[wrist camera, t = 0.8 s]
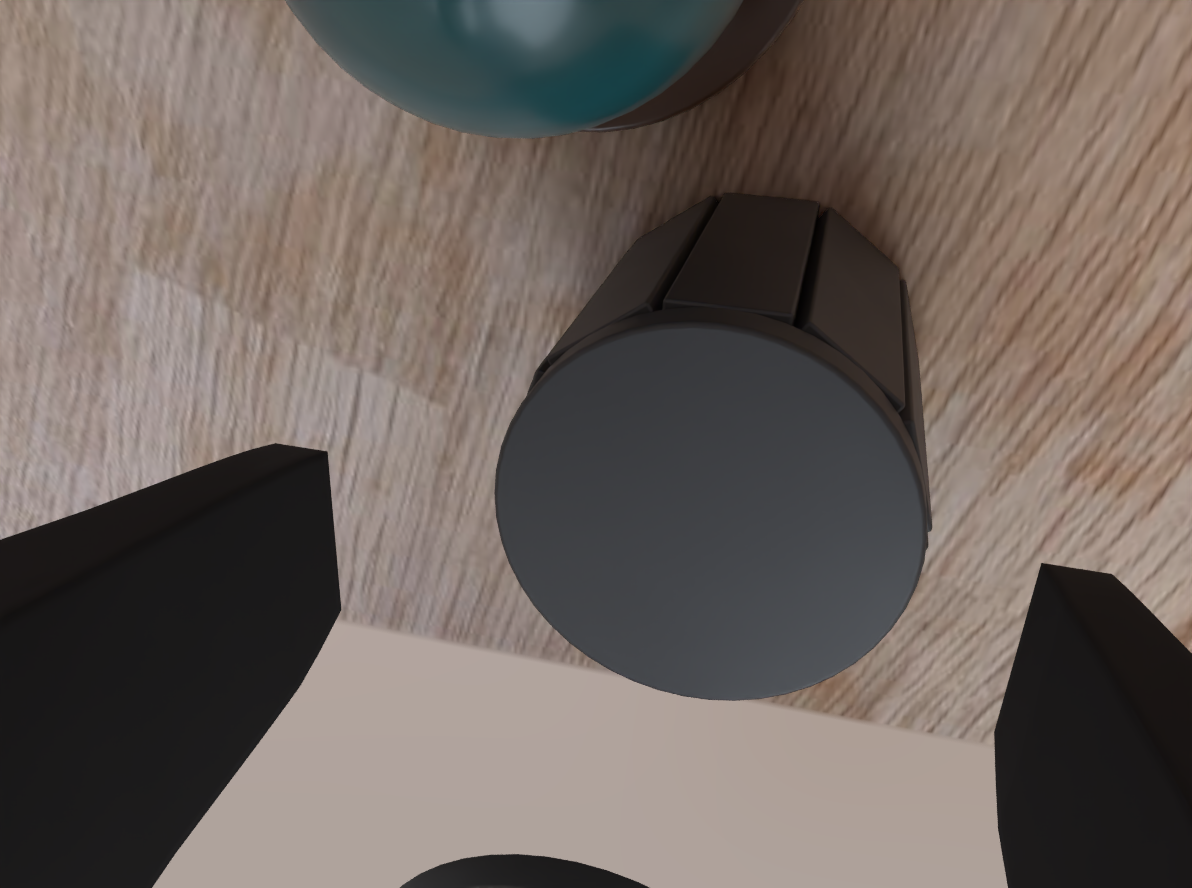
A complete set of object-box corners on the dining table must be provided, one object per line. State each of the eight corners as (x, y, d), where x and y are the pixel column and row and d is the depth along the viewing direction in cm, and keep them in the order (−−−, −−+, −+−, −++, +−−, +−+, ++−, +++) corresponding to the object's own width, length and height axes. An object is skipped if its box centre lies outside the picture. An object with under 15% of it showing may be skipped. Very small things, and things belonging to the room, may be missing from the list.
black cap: (890, 506, 18) (893, 739, 13) (593, 461, 19) (486, 660, 14) (948, 213, 16) (979, 356, 11) (605, 179, 17) (484, 295, 12)
